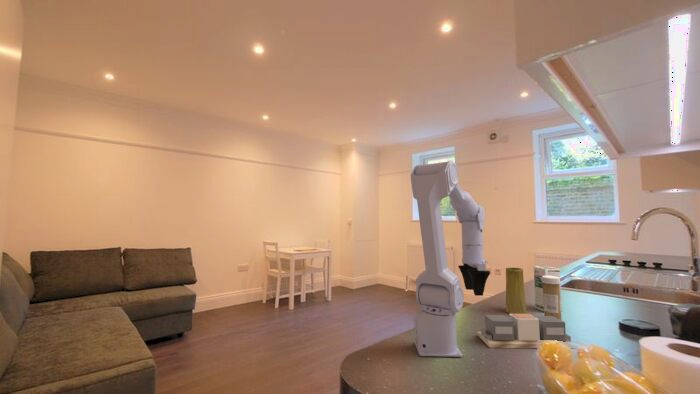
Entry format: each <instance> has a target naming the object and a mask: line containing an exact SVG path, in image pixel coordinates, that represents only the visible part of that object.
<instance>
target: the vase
mask: <svg viewBox="0 0 700 394" xmlns="http://www.w3.org/2000/svg"><path fill="white" fill-rule="evenodd" d="M526 303H527V302H526V291H525V280H524V270H523V268H521V267H505V312H506V313H508V314H528V312H527V307H526V306H527V305H526Z"/></svg>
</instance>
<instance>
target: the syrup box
mask: <svg viewBox="0 0 700 394" xmlns="http://www.w3.org/2000/svg"><path fill="white" fill-rule="evenodd" d="M542 276H556V277H559V279H560V280H561V268H558V267H551V266H545V265H534V266H533V284H534V285H533V286H534V308H535V309H536V308H537V309H536V310H539V311H542V312H544V304H543V284H542ZM561 285H562V284H561V281H560V284H559V289H560V302H561V313H562V311H563V309H562V308H563V307H562V288H561V287H562V286H561Z"/></svg>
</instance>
